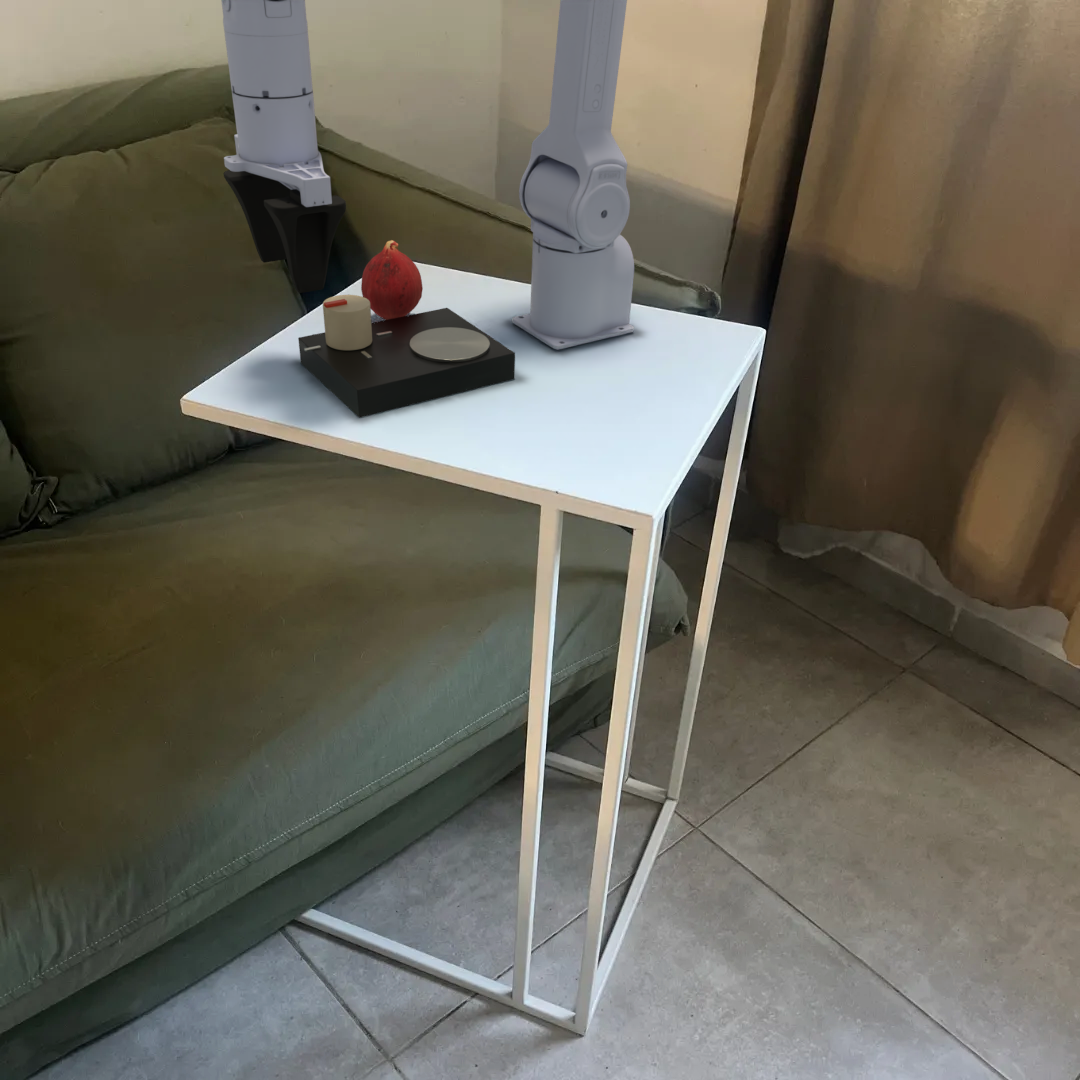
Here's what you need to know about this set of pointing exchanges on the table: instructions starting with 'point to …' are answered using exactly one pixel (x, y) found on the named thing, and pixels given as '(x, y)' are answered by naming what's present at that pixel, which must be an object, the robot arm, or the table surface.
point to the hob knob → (347, 322)
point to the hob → (401, 365)
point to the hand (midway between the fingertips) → (291, 274)
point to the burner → (449, 345)
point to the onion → (391, 283)
